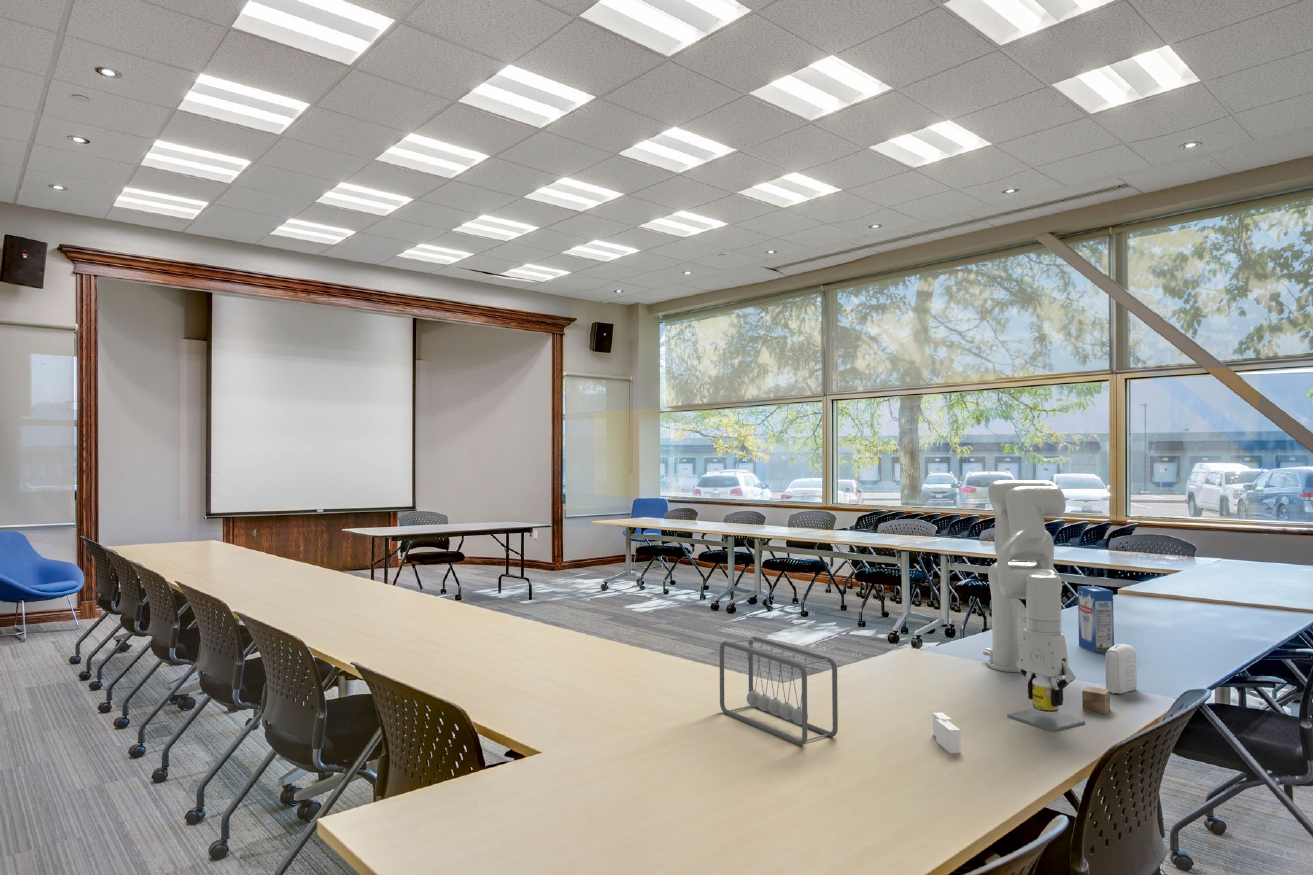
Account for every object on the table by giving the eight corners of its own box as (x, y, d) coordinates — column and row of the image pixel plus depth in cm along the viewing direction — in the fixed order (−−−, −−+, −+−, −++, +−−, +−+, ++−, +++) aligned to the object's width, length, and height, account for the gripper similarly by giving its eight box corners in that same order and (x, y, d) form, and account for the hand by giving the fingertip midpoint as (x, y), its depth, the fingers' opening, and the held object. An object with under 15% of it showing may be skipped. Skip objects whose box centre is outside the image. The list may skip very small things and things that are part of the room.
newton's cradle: (838, 739, 173) (838, 658, 174) (804, 748, 167) (804, 665, 168) (751, 704, 198) (750, 634, 199) (718, 711, 192) (718, 639, 193)
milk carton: (1114, 652, 251) (1113, 590, 251) (1095, 652, 251) (1093, 590, 252) (1097, 645, 261) (1096, 586, 261) (1078, 645, 261) (1077, 586, 262)
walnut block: (1082, 710, 193) (1082, 690, 193) (1087, 705, 196) (1087, 686, 197) (1105, 714, 189) (1104, 694, 190) (1110, 710, 193) (1109, 689, 193)
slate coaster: (1007, 716, 188) (1007, 714, 188) (1039, 709, 193) (1039, 706, 193) (1052, 731, 177) (1052, 729, 177) (1085, 723, 183) (1085, 720, 183)
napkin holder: (966, 761, 161) (966, 733, 161) (911, 749, 168) (911, 723, 168) (983, 739, 173) (982, 714, 174) (931, 730, 180) (930, 705, 180)
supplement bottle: (1028, 708, 188) (1027, 667, 188) (1049, 707, 188) (1048, 666, 189) (1041, 715, 183) (1040, 673, 183) (1063, 714, 183) (1062, 672, 183)
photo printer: (1122, 685, 214) (1121, 640, 214) (1139, 689, 210) (1138, 643, 211) (1103, 691, 208) (1102, 645, 209) (1120, 695, 205) (1119, 648, 205)
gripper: (1002, 620, 192) (1003, 694, 191) (1067, 634, 177) (1068, 714, 176) (1022, 618, 196) (1023, 690, 195) (1087, 630, 180) (1089, 709, 180)
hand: (1045, 701), depth 186 cm, fingers closed on supplement bottle, 5 cm apart
